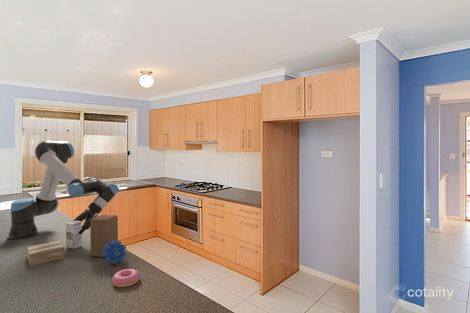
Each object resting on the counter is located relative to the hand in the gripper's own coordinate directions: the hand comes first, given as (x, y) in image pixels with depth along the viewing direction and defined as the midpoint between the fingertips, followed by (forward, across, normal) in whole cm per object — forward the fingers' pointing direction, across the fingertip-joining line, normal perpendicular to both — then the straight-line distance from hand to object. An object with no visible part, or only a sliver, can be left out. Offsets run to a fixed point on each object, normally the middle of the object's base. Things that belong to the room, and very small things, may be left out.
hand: (70, 236), depth 152 cm
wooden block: (-2, -23, -12) cm, 26 cm away
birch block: (+14, -6, +4) cm, 16 cm away
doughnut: (+2, -61, -8) cm, 61 cm away
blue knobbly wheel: (-1, -41, -11) cm, 42 cm away
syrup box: (+4, 0, -6) cm, 7 cm away
